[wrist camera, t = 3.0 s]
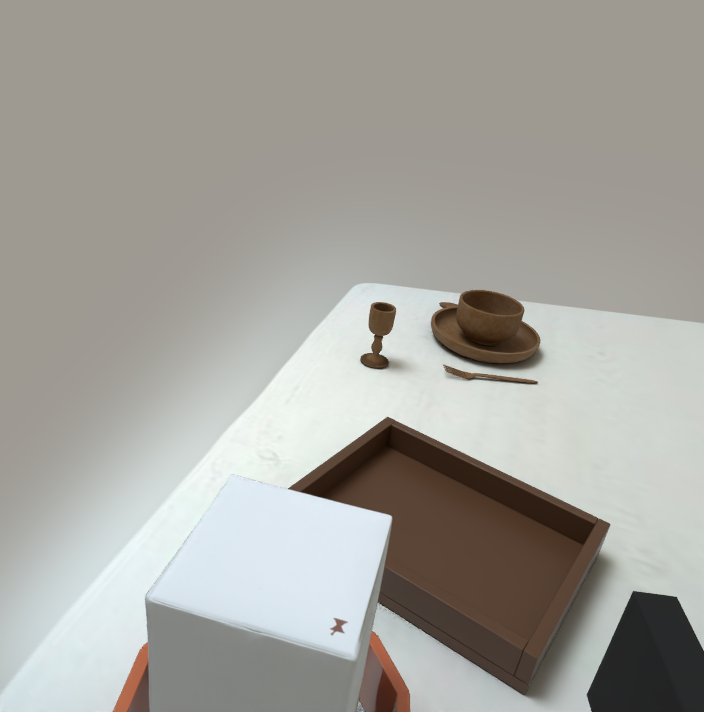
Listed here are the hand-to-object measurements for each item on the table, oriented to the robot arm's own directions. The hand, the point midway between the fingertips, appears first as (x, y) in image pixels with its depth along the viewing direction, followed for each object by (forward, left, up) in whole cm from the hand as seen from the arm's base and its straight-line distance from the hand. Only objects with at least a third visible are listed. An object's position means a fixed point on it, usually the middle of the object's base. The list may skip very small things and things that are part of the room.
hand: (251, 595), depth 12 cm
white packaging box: (-5, +8, -21) cm, 23 cm away
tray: (-6, +26, -21) cm, 34 cm away
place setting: (-20, +55, -21) cm, 62 cm away
